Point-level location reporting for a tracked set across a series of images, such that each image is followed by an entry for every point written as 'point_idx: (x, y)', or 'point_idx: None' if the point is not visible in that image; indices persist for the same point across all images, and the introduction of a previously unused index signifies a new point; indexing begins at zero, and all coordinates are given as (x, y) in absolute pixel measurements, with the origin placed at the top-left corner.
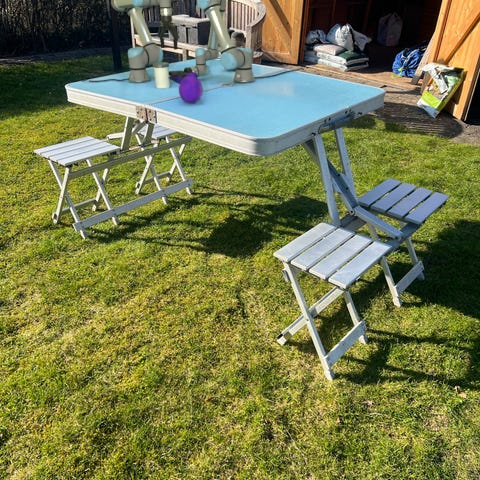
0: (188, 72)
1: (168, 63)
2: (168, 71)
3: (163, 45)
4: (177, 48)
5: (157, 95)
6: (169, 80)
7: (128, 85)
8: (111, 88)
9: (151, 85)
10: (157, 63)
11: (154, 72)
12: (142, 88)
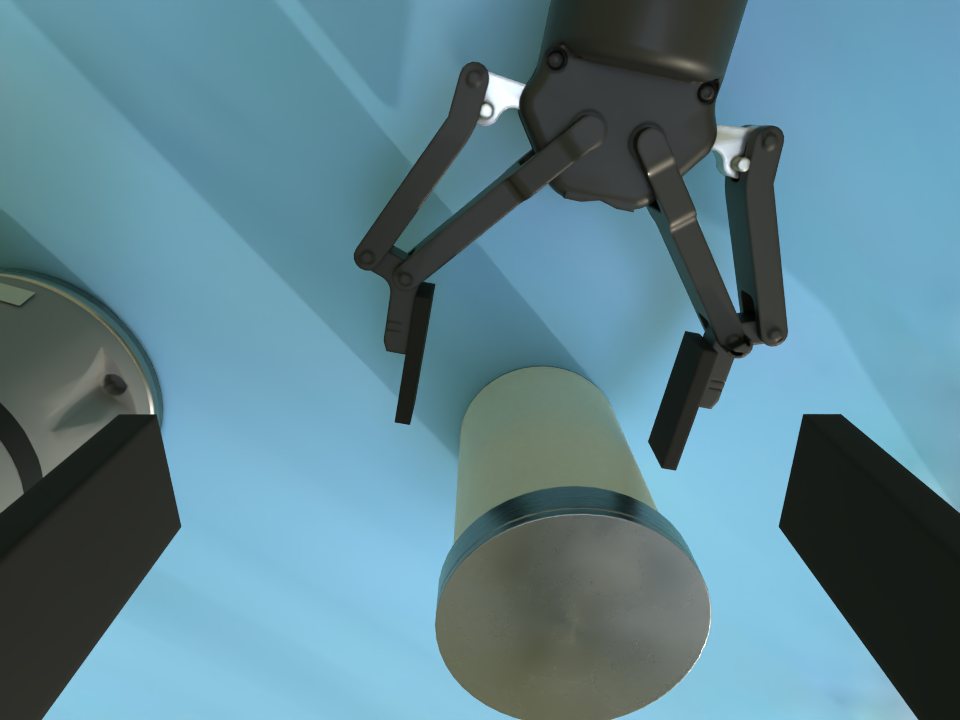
0: (719, 89)
1: (688, 560)
2: (648, 493)
3: (125, 504)
4: (854, 428)
5: (759, 671)
6: (614, 423)
7: (181, 579)
8: (191, 717)
9: (369, 458)
10: (514, 645)
11: None
12: (417, 586)
